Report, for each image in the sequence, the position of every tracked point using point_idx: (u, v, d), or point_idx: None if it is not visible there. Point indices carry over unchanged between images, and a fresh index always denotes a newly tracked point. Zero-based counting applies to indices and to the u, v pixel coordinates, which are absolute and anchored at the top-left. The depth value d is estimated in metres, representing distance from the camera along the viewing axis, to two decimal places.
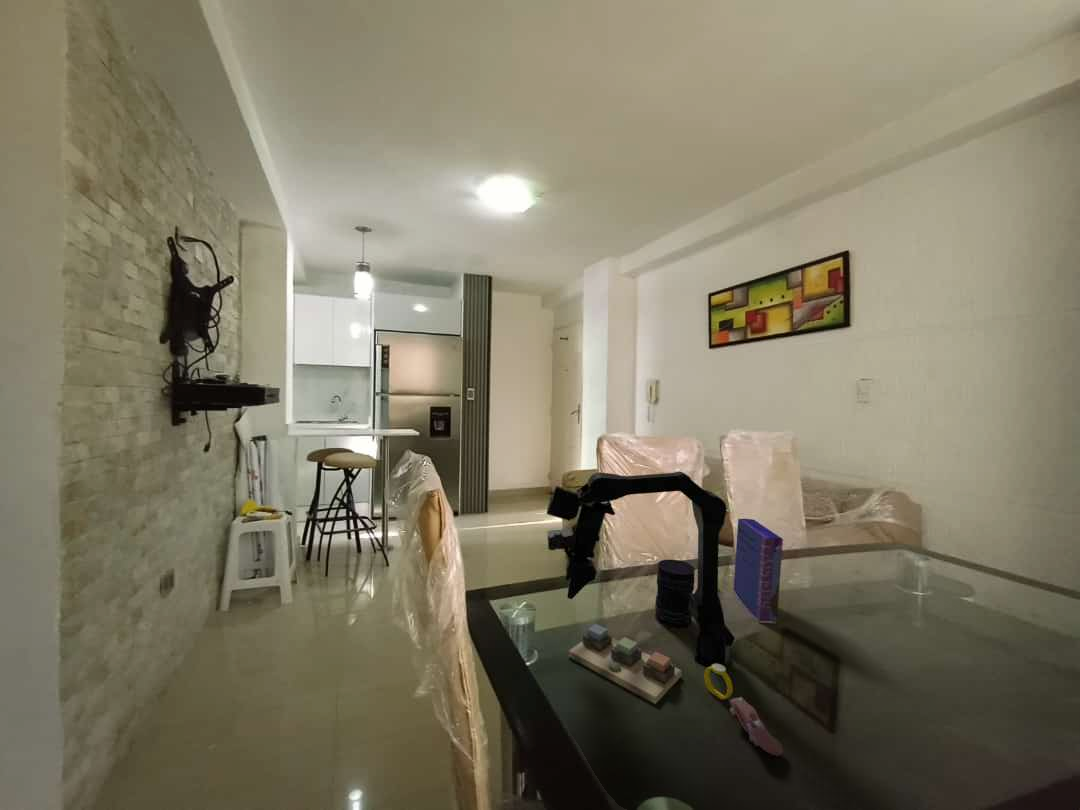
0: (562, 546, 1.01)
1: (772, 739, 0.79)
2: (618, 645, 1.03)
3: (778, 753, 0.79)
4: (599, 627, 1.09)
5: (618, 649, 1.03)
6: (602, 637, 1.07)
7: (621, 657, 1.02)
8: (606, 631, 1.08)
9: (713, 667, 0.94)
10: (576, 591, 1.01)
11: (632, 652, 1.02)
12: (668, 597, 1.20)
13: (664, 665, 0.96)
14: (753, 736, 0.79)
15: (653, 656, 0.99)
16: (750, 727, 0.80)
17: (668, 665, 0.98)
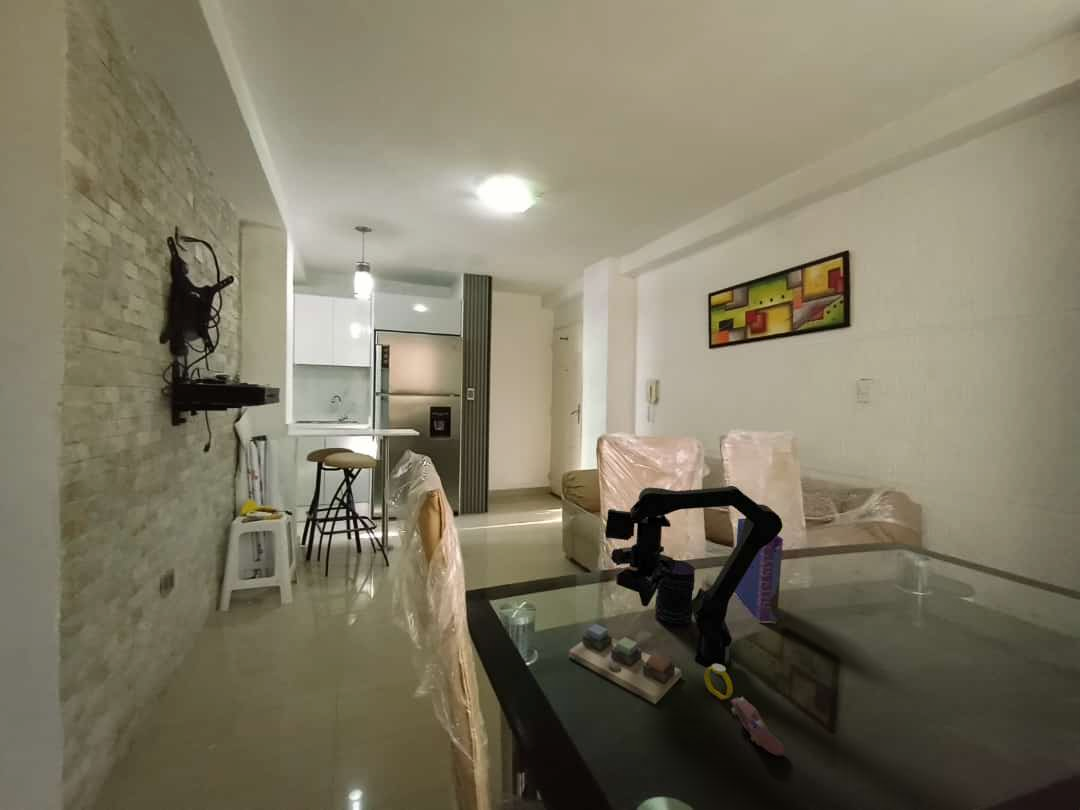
0: (620, 560, 1.08)
1: (774, 739, 0.79)
2: (618, 645, 1.03)
3: (780, 753, 0.79)
4: (599, 627, 1.09)
5: (618, 649, 1.03)
6: (602, 637, 1.07)
7: (621, 657, 1.02)
8: (606, 631, 1.08)
9: (713, 667, 0.94)
10: (646, 598, 1.07)
11: (632, 652, 1.02)
12: (668, 597, 1.20)
13: (664, 665, 0.96)
14: (755, 736, 0.79)
15: (653, 656, 0.99)
16: (752, 727, 0.80)
17: (668, 665, 0.98)
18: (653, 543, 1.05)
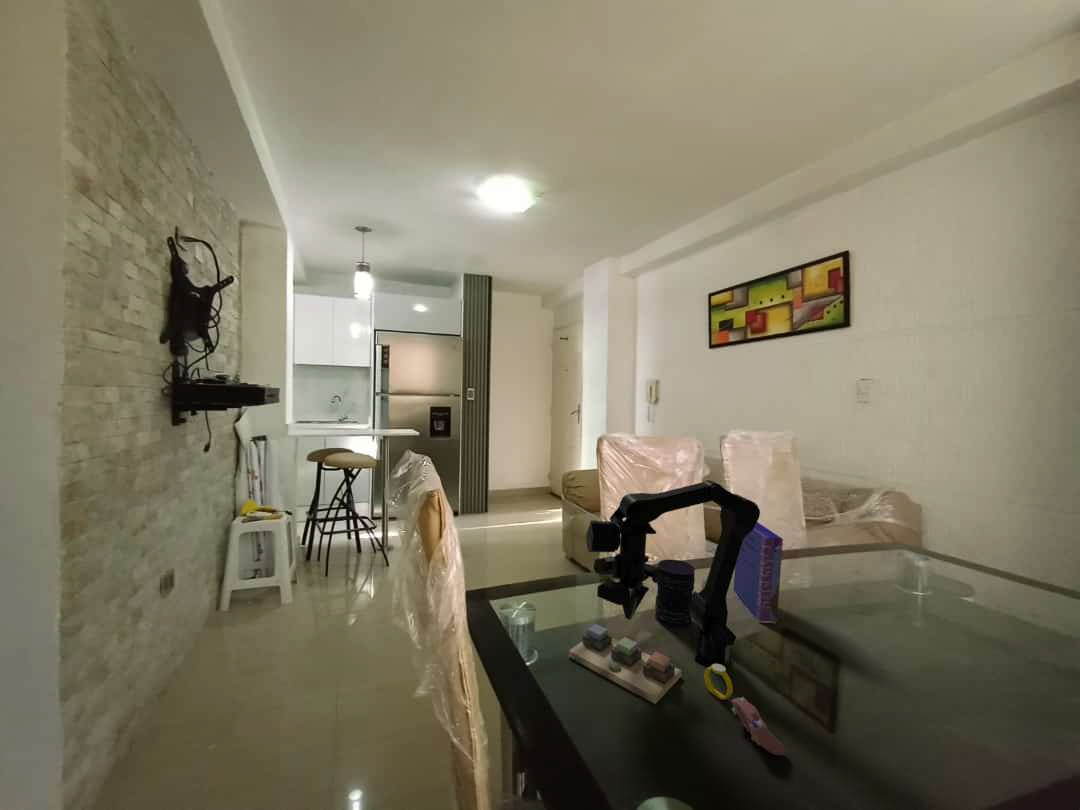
0: (602, 571, 1.03)
1: (774, 739, 0.79)
2: (618, 645, 1.03)
3: (780, 753, 0.79)
4: (599, 627, 1.09)
5: (618, 649, 1.03)
6: (602, 637, 1.07)
7: (621, 657, 1.02)
8: (606, 631, 1.08)
9: (713, 667, 0.94)
10: (629, 611, 1.02)
11: (632, 652, 1.02)
12: (668, 597, 1.20)
13: (664, 665, 0.96)
14: (755, 736, 0.79)
15: (653, 656, 0.99)
16: (752, 727, 0.80)
17: (668, 665, 0.98)
18: (640, 553, 1.00)
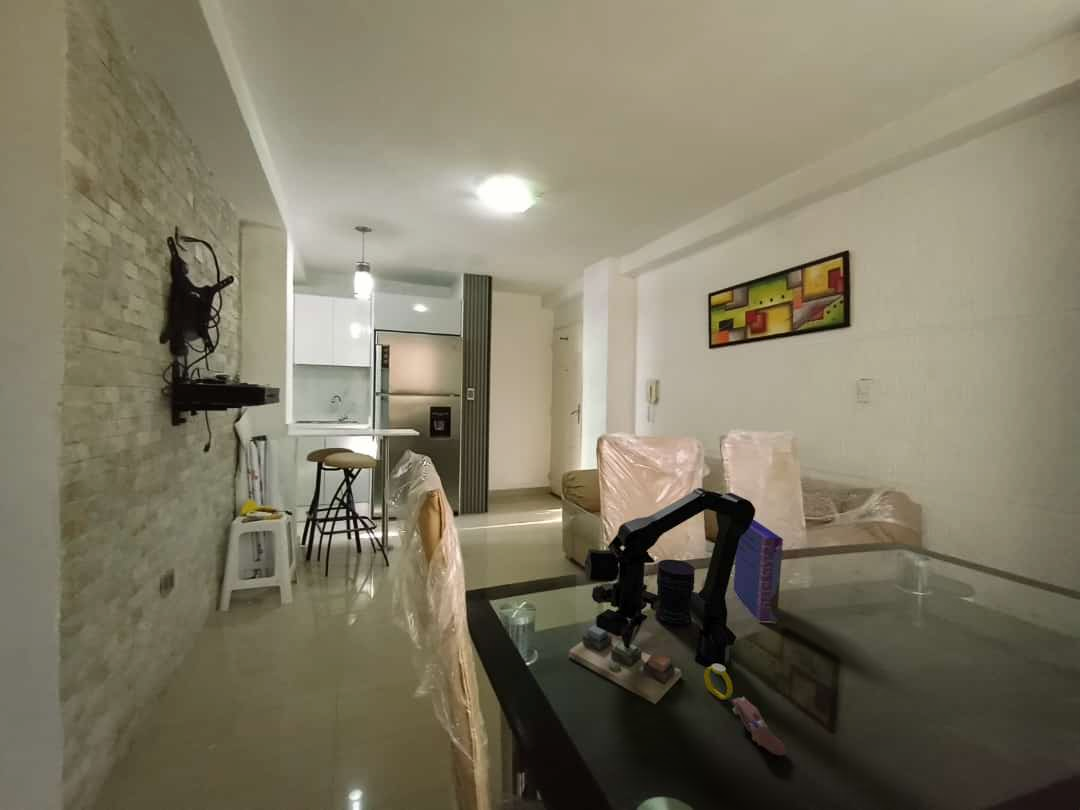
0: (601, 599, 1.03)
1: (775, 739, 0.79)
2: (618, 649, 1.03)
3: (781, 753, 0.79)
4: None
5: None
6: (602, 637, 1.07)
7: (621, 657, 1.02)
8: (606, 631, 1.08)
9: (713, 667, 0.94)
10: (628, 640, 1.02)
11: None
12: (668, 597, 1.20)
13: (664, 665, 0.96)
14: (756, 736, 0.79)
15: (653, 656, 0.99)
16: (753, 727, 0.80)
17: (668, 665, 0.98)
18: (639, 582, 1.00)
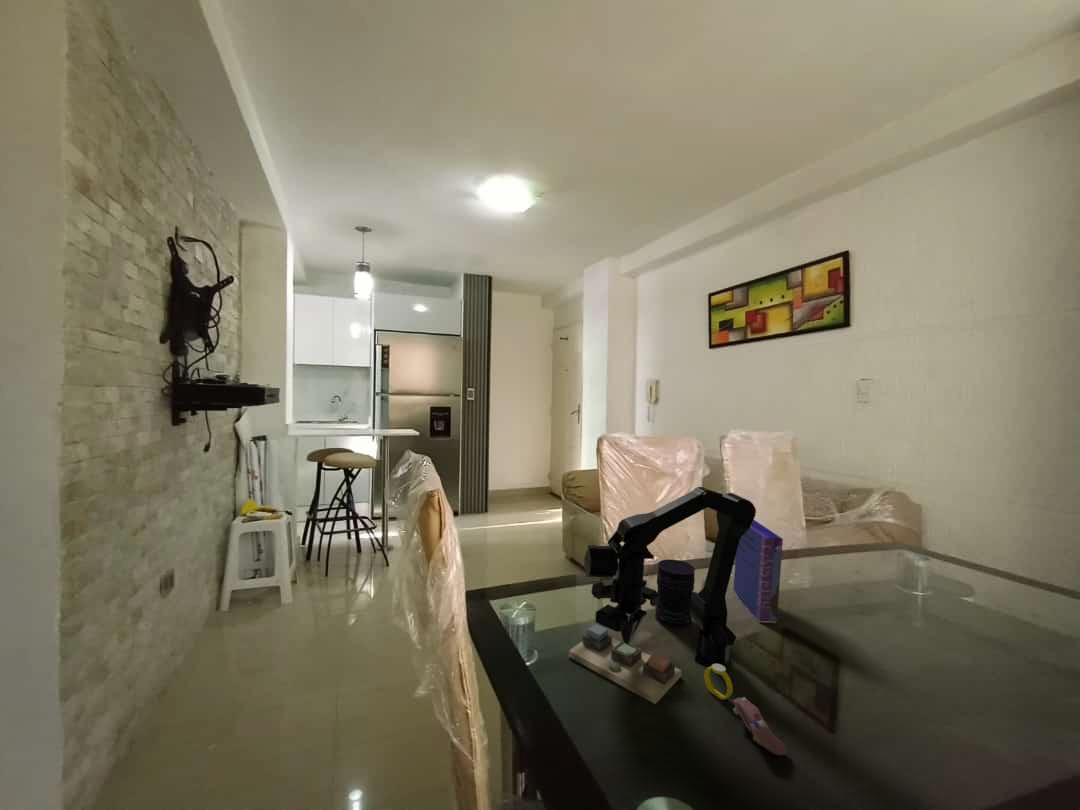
0: (600, 595, 1.03)
1: (776, 739, 0.79)
2: None
3: (782, 753, 0.79)
4: (599, 627, 1.09)
5: None
6: (602, 637, 1.07)
7: (621, 657, 1.02)
8: (606, 631, 1.08)
9: (713, 667, 0.94)
10: (627, 635, 1.02)
11: None
12: (668, 597, 1.20)
13: (664, 665, 0.96)
14: (757, 736, 0.80)
15: (653, 656, 0.99)
16: (754, 727, 0.80)
17: (668, 665, 0.98)
18: (638, 577, 1.00)
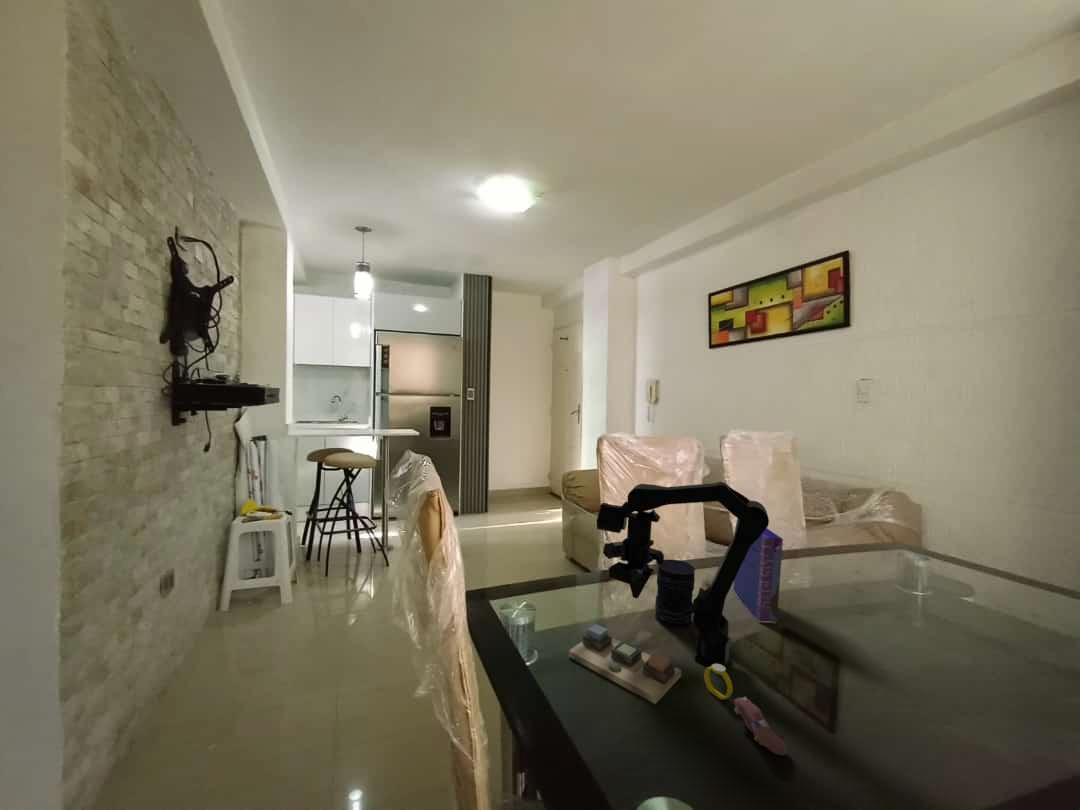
0: (611, 554, 1.12)
1: (777, 739, 0.79)
2: None
3: (783, 753, 0.79)
4: (599, 627, 1.09)
5: None
6: (602, 637, 1.07)
7: (621, 657, 1.02)
8: (606, 631, 1.08)
9: (713, 667, 0.94)
10: (637, 590, 1.11)
11: None
12: (668, 597, 1.20)
13: (664, 665, 0.96)
14: (758, 736, 0.80)
15: (653, 656, 0.99)
16: (755, 727, 0.80)
17: (668, 665, 0.98)
18: (641, 537, 1.09)
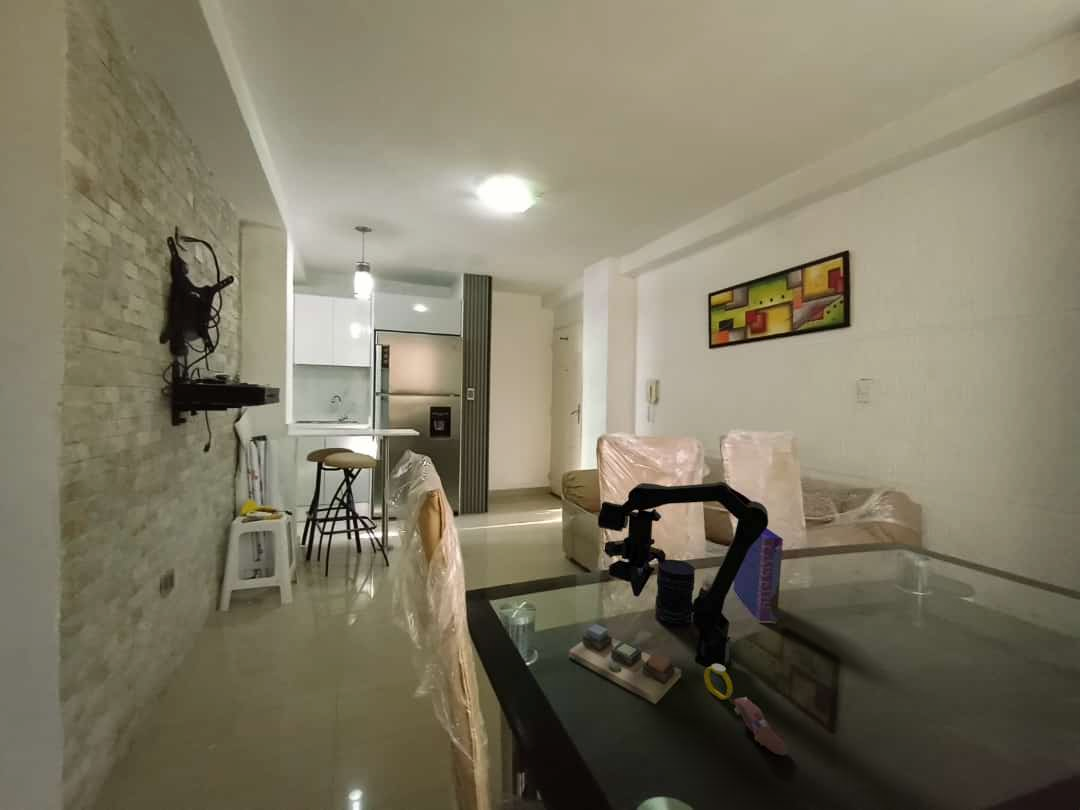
0: (612, 552, 1.13)
1: (777, 739, 0.79)
2: None
3: (783, 753, 0.79)
4: (599, 627, 1.09)
5: None
6: (602, 637, 1.07)
7: (621, 657, 1.02)
8: (606, 631, 1.08)
9: (713, 667, 0.94)
10: (637, 589, 1.12)
11: None
12: (668, 597, 1.20)
13: (664, 665, 0.96)
14: (758, 736, 0.80)
15: (653, 656, 0.99)
16: (755, 727, 0.80)
17: (668, 665, 0.98)
18: (641, 536, 1.10)
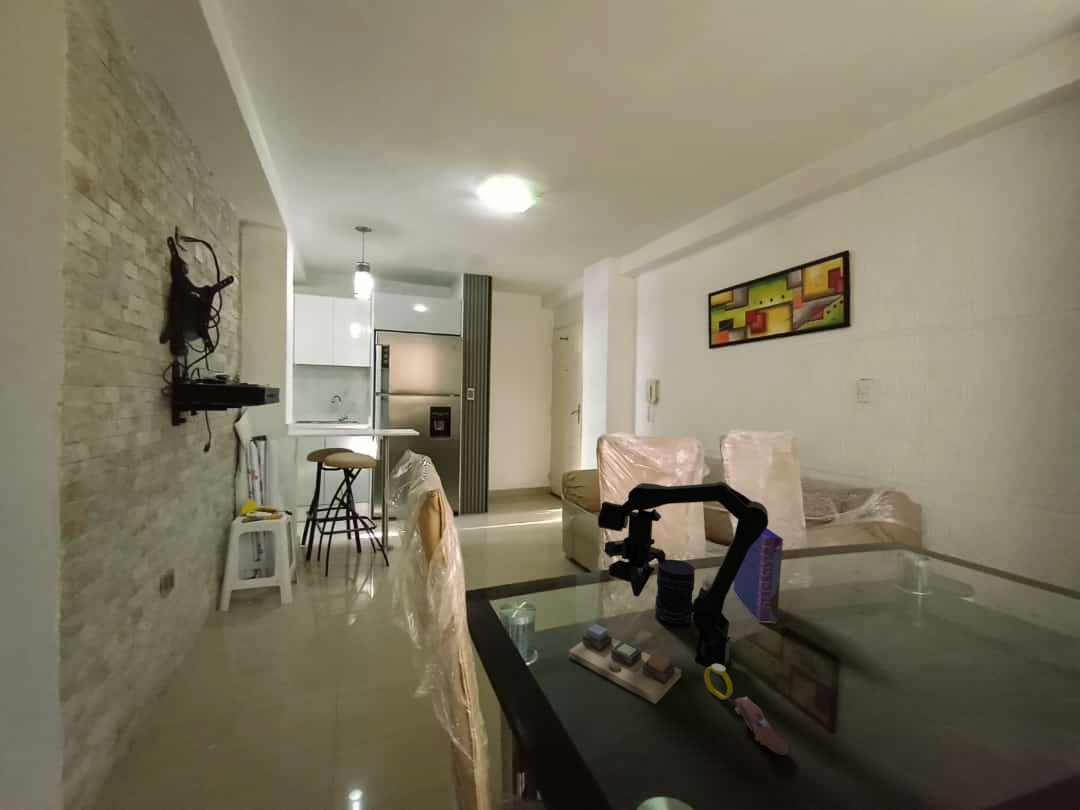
0: (612, 552, 1.13)
1: (778, 738, 0.79)
2: None
3: (784, 752, 0.79)
4: (599, 627, 1.09)
5: None
6: (602, 637, 1.07)
7: (621, 657, 1.02)
8: (606, 631, 1.08)
9: (713, 667, 0.94)
10: (637, 589, 1.12)
11: None
12: (668, 597, 1.20)
13: (664, 665, 0.96)
14: (759, 735, 0.80)
15: (653, 656, 0.99)
16: (756, 726, 0.80)
17: (668, 665, 0.98)
18: (641, 536, 1.10)
